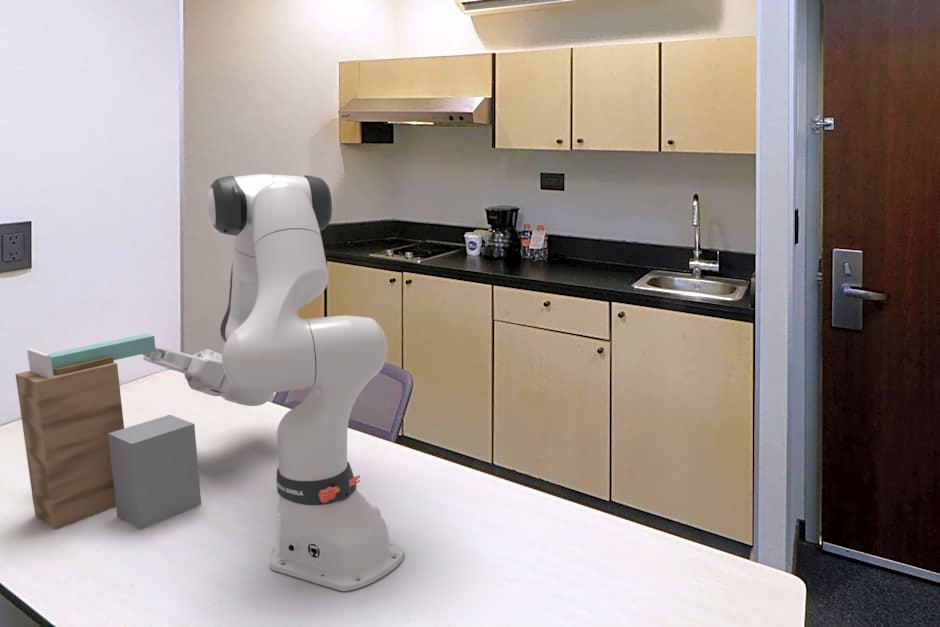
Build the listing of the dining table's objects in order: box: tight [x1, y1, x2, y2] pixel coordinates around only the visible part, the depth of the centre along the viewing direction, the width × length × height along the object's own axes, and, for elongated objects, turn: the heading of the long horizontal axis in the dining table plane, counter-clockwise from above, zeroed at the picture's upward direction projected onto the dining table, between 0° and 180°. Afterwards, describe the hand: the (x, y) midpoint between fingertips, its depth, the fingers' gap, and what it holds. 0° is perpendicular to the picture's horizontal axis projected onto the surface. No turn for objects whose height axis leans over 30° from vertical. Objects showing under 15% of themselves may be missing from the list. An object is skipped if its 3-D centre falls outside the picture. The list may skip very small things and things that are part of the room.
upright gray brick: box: [108, 414, 202, 530], centre depth 137 cm, size 8×12×16 cm, turn 143°
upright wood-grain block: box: [15, 357, 125, 530], centre depth 137 cm, size 8×14×28 cm, turn 143°
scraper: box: [27, 333, 156, 379], centre depth 138 cm, size 7×21×4 cm, turn 143°
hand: (150, 351), depth 146 cm, fingers open, 8 cm apart
